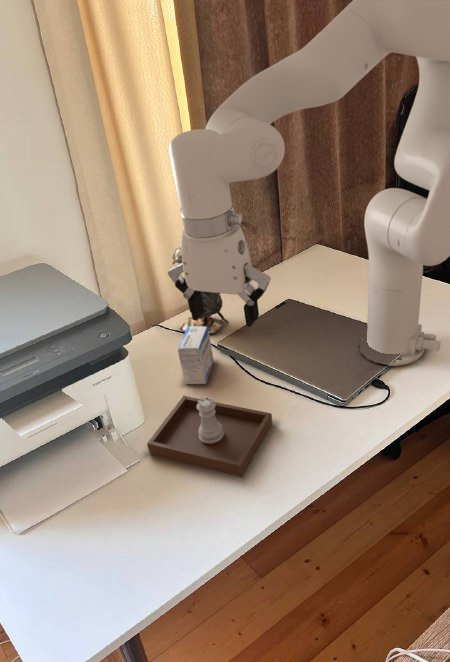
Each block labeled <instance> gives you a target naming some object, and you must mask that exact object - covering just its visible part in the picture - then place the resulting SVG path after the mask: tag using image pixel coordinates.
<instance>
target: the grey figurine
mask: <svg viewBox="0 0 450 662" xmlns="http://www.w3.org/2000/svg"><path fill="white" fill-rule="evenodd" d="M180 263H182V253H181V246H177V247H176V248H175V250H174V251H173V255H172V263H171V265H175V264H180ZM200 292H201V295H202V301H203V306H204V312H203V314H202V315H201V316H200V317H199V319H198V320H196V321H195V320H193V319H192V316H191V317H187V318H186V320H185V321H184V322H183V323H182V325H181V326H180V327H179V330H180V331H183V332H184V333H185V332H186V329H187V327H192V326H203V327H208V330H209V334H215V333H217V332H218V331H220V329H221V327H222V326H224V324H223V323H224V322H225V323H226V324H227V325H230V321H229V320H228V319H226V318H225V317H224V315H223V313H222V312H221V310H222V308H223V298H222V295H221V294H220V293H213V292H204V291H200ZM216 314H217V315H218V316H219V317H220V318H217V317H215V316H213V315H216Z"/></svg>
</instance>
